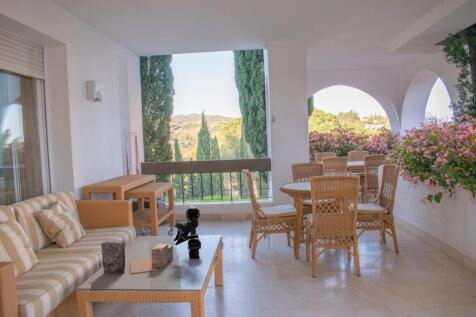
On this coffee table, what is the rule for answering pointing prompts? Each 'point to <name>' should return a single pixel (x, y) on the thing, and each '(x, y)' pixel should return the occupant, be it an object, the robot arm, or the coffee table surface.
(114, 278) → the coffee table surface
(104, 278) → the coffee table surface
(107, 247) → the stone block
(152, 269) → the mat
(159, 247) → the stack of blocks
